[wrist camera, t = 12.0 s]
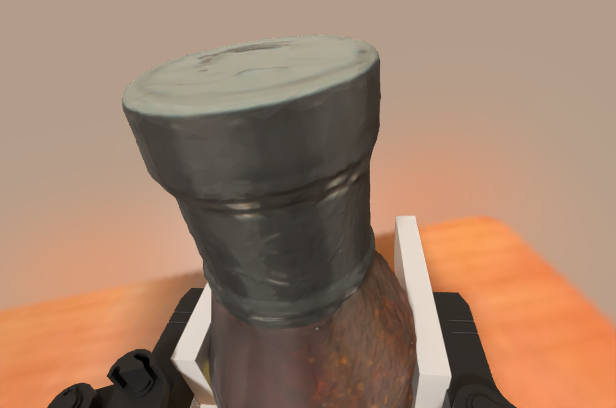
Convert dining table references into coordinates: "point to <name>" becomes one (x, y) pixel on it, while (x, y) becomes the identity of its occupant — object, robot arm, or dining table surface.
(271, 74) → the sauce bottle
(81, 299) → the dining table surface
